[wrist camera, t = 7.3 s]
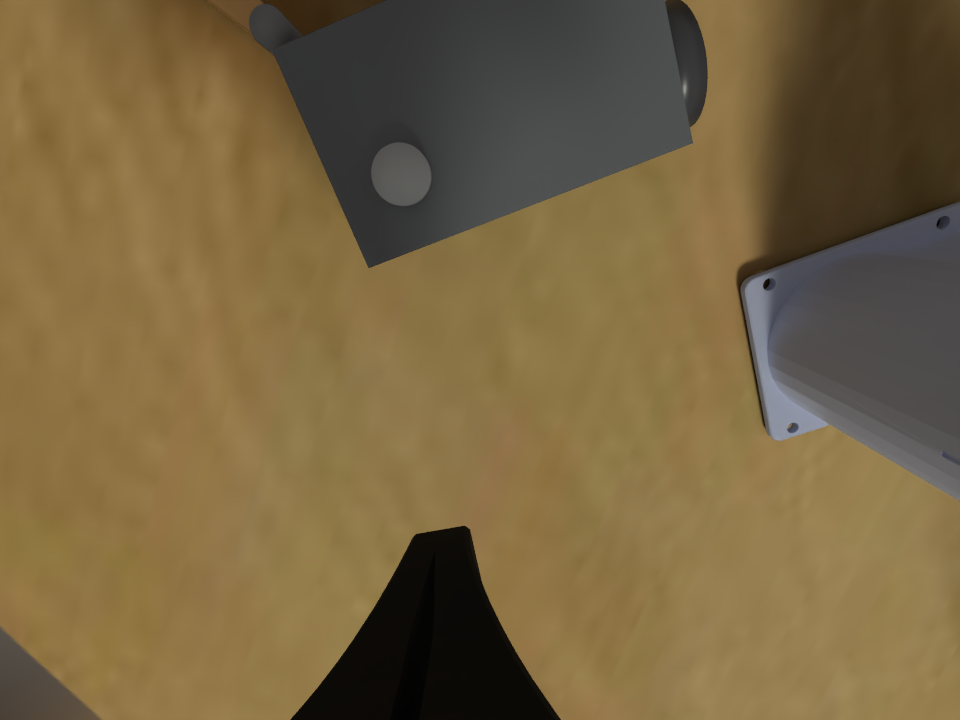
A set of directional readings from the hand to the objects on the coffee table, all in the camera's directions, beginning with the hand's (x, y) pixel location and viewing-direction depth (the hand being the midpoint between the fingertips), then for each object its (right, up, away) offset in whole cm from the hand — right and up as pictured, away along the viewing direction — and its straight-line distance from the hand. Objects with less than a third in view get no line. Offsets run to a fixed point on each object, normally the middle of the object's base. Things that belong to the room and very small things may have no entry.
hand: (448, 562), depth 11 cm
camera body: (+1, +14, +6) cm, 15 cm away
